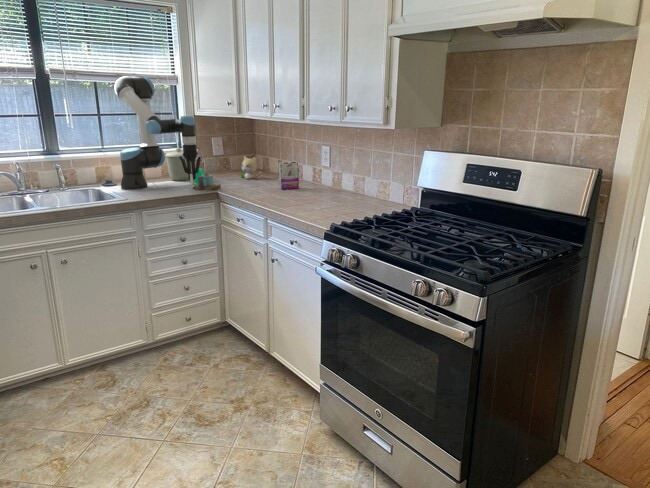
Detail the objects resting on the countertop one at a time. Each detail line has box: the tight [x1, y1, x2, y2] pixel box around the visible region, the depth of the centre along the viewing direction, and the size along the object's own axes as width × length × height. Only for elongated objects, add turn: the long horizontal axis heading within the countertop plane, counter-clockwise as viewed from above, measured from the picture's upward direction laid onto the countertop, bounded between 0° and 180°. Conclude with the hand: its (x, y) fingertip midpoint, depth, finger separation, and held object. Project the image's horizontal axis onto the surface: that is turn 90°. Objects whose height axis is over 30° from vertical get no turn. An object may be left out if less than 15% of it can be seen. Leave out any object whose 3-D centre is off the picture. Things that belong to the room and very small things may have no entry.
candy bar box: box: [278, 160, 300, 191], centre depth 292 cm, size 11×5×16 cm, turn 112°
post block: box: [192, 171, 222, 192], centre depth 291 cm, size 14×10×10 cm
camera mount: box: [194, 167, 205, 185], centre depth 306 cm, size 12×8×10 cm, turn 61°
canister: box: [165, 147, 192, 182], centre depth 319 cm, size 18×18×21 cm
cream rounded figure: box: [239, 155, 262, 180], centre depth 325 cm, size 15×10×15 cm, turn 57°
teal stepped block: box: [198, 174, 214, 187], centre depth 287 cm, size 6×14×6 cm, turn 174°
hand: (192, 184), depth 282 cm, fingers closed
